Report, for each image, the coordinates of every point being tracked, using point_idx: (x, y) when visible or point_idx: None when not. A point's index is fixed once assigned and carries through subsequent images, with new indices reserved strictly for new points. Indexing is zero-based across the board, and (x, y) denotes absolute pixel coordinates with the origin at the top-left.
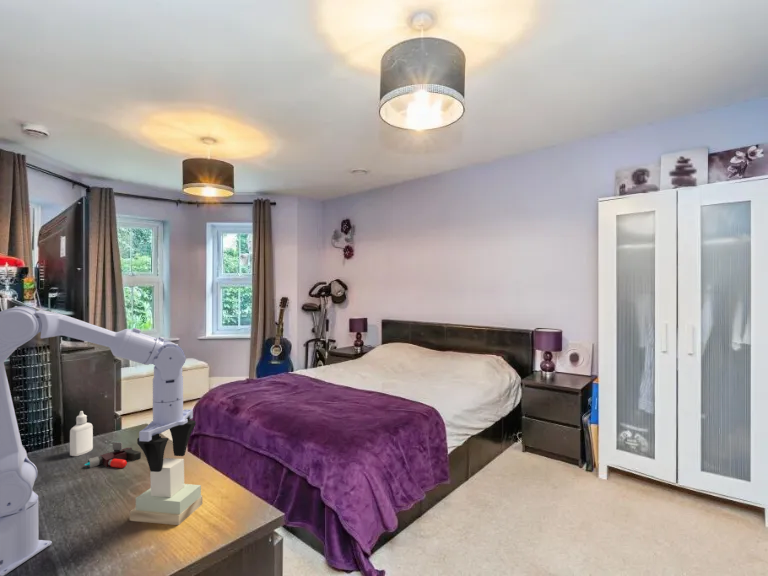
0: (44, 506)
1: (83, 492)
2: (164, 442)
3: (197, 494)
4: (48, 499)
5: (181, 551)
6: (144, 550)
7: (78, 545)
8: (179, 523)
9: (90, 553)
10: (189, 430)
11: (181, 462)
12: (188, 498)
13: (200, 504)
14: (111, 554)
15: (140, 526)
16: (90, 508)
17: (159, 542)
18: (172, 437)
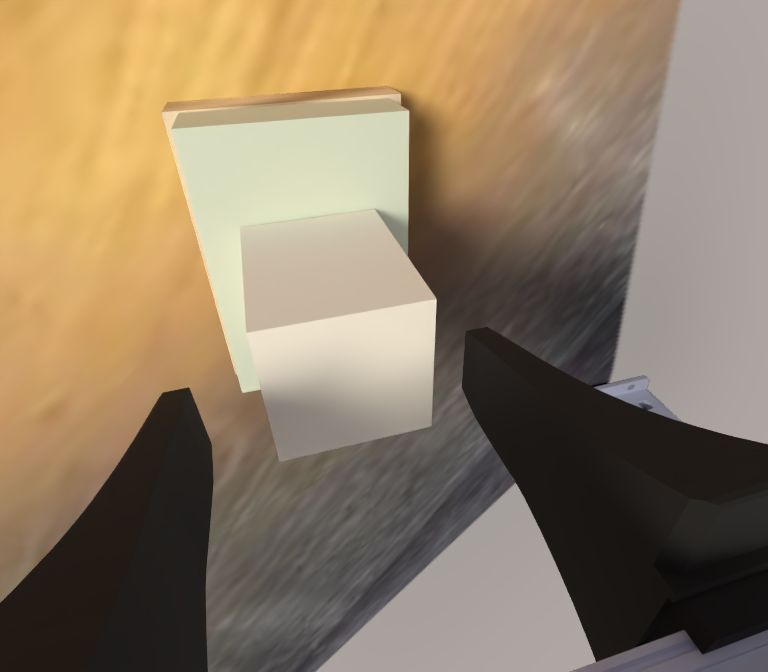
0: (371, 559)
1: (282, 561)
2: (721, 468)
3: (215, 116)
4: (340, 581)
5: None
6: (566, 101)
7: (529, 342)
8: (383, 86)
9: (567, 276)
10: (89, 612)
11: (283, 315)
12: (319, 112)
13: (188, 101)
14: (578, 208)
15: (420, 253)
16: (353, 477)
17: (517, 76)
18: (205, 612)
